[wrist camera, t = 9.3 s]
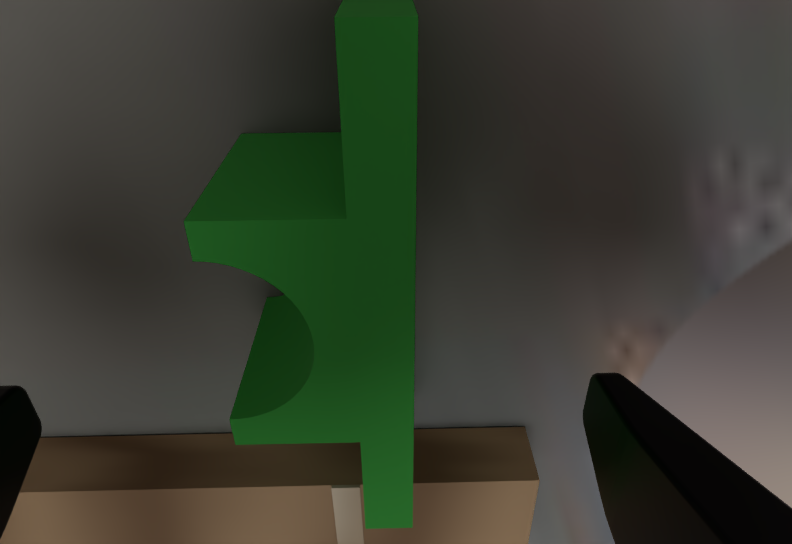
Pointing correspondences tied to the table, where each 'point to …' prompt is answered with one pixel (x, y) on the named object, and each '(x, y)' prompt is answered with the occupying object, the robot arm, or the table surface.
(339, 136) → the pipe clamp
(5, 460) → the robot arm
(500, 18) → the table surface
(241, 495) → the brown wooden plank
